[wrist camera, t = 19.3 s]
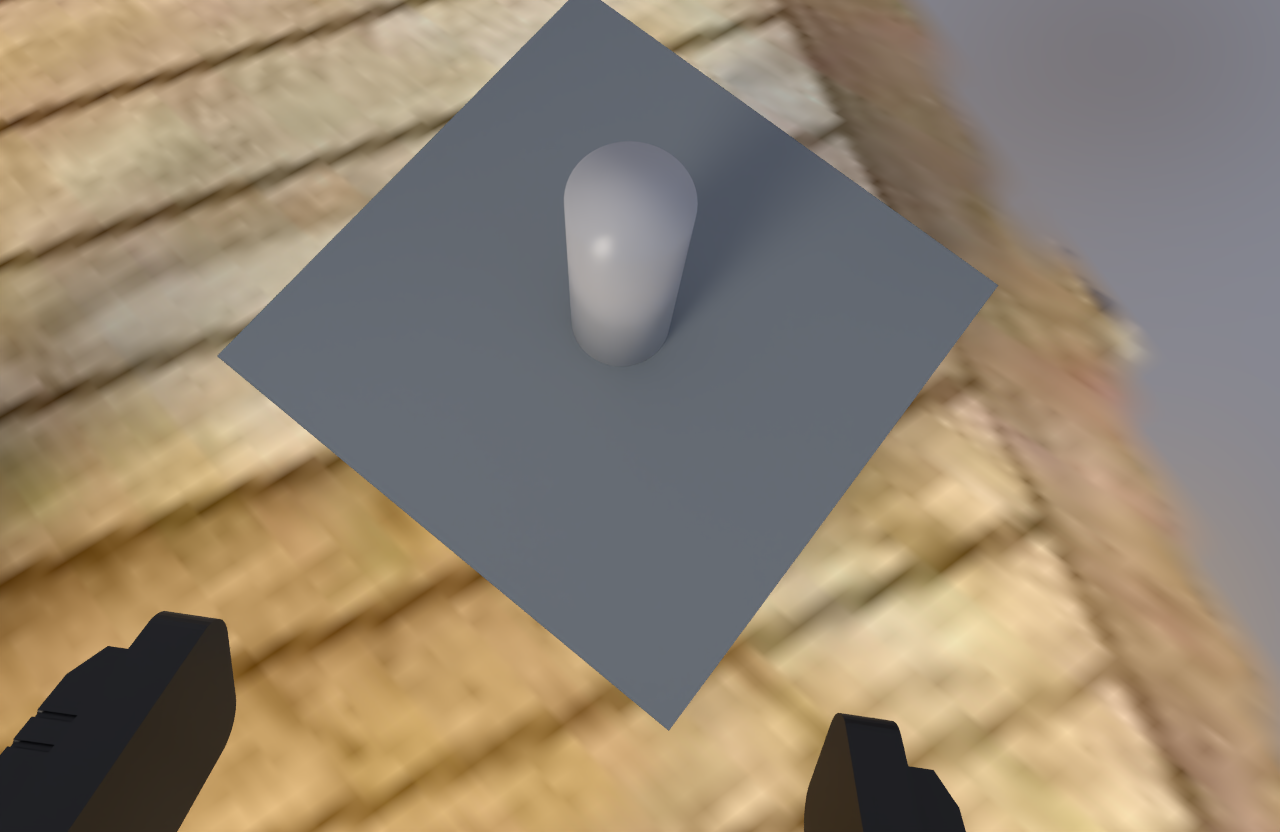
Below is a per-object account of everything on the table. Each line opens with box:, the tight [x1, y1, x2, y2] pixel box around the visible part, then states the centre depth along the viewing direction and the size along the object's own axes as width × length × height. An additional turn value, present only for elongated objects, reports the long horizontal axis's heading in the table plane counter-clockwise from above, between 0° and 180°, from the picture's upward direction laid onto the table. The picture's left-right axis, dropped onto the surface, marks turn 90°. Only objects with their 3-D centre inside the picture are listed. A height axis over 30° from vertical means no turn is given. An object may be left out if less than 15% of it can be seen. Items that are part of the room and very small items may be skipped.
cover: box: [218, 0, 998, 731], centre depth 34 cm, size 18×18×25 cm
